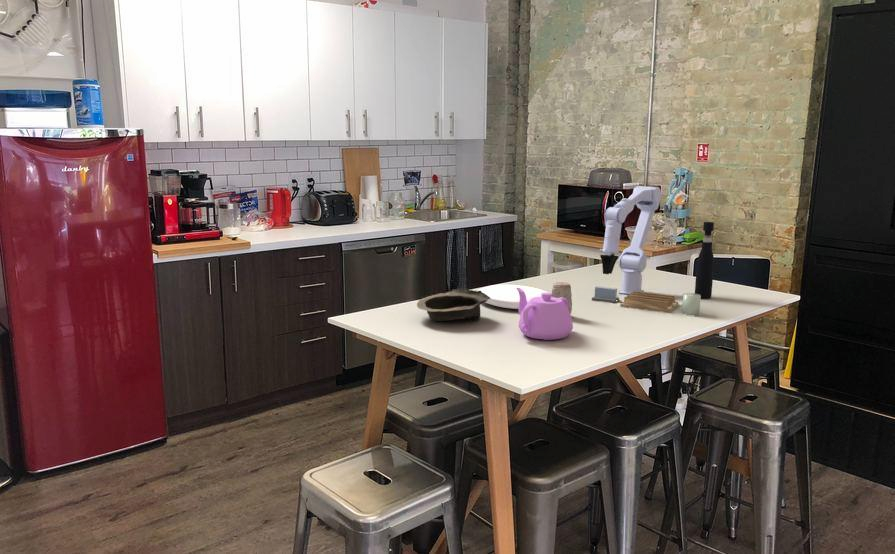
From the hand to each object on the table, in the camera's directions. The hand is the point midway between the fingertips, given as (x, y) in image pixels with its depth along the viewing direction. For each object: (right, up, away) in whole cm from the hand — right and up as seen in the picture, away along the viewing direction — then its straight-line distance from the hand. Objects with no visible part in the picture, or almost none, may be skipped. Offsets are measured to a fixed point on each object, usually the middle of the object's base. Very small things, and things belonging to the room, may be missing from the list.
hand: (607, 273), depth 278 cm
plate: (-36, -12, -4) cm, 38 cm away
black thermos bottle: (+40, -10, +9) cm, 42 cm away
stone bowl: (-60, -16, -29) cm, 69 cm away
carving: (-21, -15, -23) cm, 35 cm away
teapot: (-32, -20, -45) cm, 59 cm away
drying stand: (0, -10, +3) cm, 11 cm away
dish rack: (+15, -12, -5) cm, 20 cm away
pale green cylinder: (+26, -15, -17) cm, 35 cm away
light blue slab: (0, -10, +3) cm, 11 cm away
